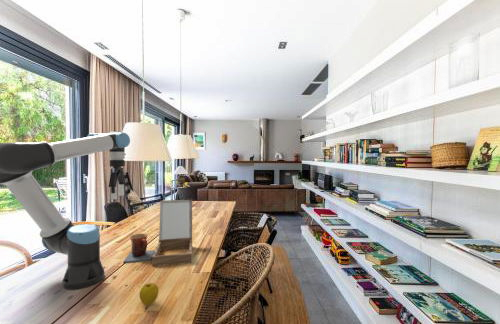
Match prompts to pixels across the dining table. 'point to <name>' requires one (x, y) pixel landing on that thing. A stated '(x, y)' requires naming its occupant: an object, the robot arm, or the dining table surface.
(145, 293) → the apple
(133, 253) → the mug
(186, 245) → the shallow wooden tray
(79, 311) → the dining table surface
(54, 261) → the dining table surface
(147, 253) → the slate mat
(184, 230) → the lid
